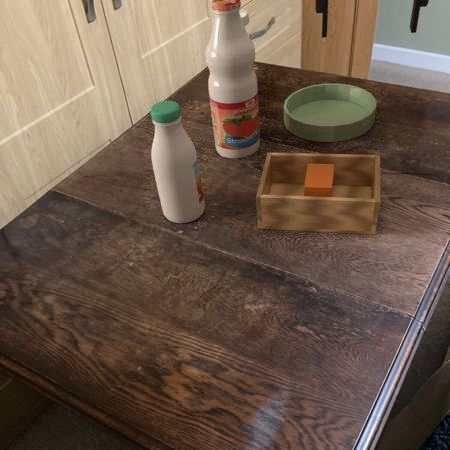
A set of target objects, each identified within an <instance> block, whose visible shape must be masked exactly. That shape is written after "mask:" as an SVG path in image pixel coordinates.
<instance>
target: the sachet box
mask: <svg viewBox="0 0 450 450" xmlns="http://www.w3.org/2000/svg"><path fill="white" fill-rule="evenodd" d="M333 174H334V164H308V166H307V172H306V178H305V185H304V196H313V197H332V187H333Z"/></svg>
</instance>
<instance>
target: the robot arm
mask: <svg viewBox="0 0 450 450" xmlns="http://www.w3.org/2000/svg"><path fill="white" fill-rule="evenodd" d="M429 1H430V0H413V3H412V9H411V14H410V15H411V16H410V21H409V30H410V33H411V34H417V29H418V23H419V18H420V11H421V8H426V7H427V6H428V4H429ZM314 3H315V9H314V10H315V13H316V14H322V18H321V19H322V21H321V23H322V24H321V28H322V29H321V38H323V39H324V38H327V37H328V23H329V21H328V20H329V0H315V2H314Z"/></svg>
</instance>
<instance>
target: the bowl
mask: <svg viewBox="0 0 450 450" xmlns="http://www.w3.org/2000/svg"><path fill="white" fill-rule="evenodd" d="M376 112H377V99H376V98H375V97H374V95H373V93H371V92H370V91H368V90H366V89H365V88H362V87H359V86H356V85H352V84H345V83H334V82H333V83H330V82H329V83H319V84H313V85H308V86H306V87H303V88H300V89H298V90H296V91H294V92H292V93H291V94H289V96H288V97H287V98H286V99H284V104H283V124H284V127H285V128H286V130H287V131H289V133H291V134H292V135H294V136H296V137H298V138H300V139H302V140H307V141H310V142H311V141H312V142H318V143H336V142H343V141H348V140H349V141H350V140H352V139H356V138H358V137H360V136H362V135H364V134H366V133H367V132H368V131H370V129H371V128H372V127H373V126H374V124H375V120H376Z"/></svg>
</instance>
